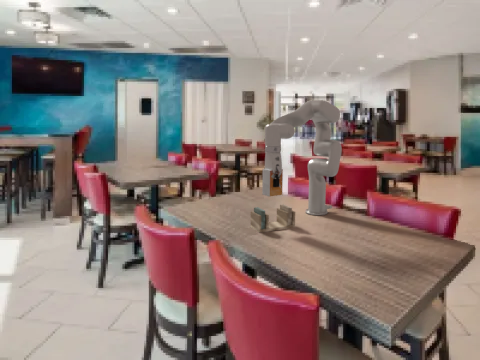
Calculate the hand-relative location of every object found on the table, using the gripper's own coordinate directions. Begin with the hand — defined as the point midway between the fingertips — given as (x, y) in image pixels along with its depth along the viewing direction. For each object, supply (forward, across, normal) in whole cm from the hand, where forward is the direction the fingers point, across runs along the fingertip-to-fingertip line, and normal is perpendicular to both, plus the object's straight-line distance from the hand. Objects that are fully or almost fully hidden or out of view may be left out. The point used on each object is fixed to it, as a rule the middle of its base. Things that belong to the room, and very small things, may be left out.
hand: (272, 185), depth 189 cm
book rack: (+21, 0, 0) cm, 21 cm away
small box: (+5, 0, 0) cm, 5 cm away
